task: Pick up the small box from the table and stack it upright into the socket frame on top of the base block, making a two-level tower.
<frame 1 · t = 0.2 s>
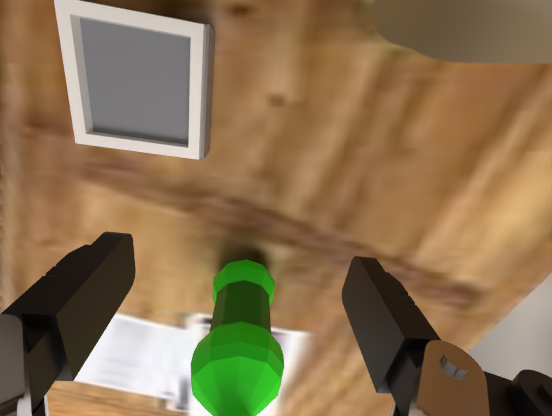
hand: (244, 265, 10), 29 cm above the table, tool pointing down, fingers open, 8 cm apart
base block: (154, 87, 33), on the table
plastic bottle: (244, 272, 45), on the table
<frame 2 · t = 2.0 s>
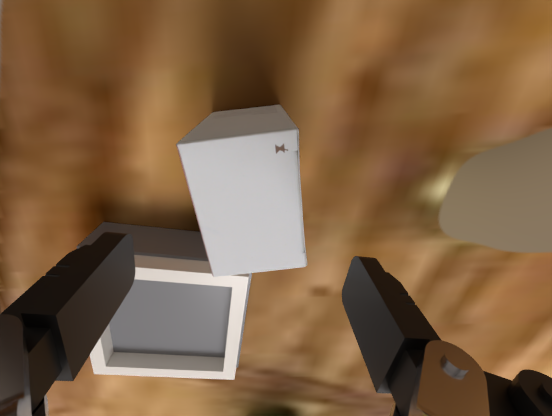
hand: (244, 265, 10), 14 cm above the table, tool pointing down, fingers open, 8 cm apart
small box: (253, 156, 23), on the table
base block: (181, 286, 28), on the table
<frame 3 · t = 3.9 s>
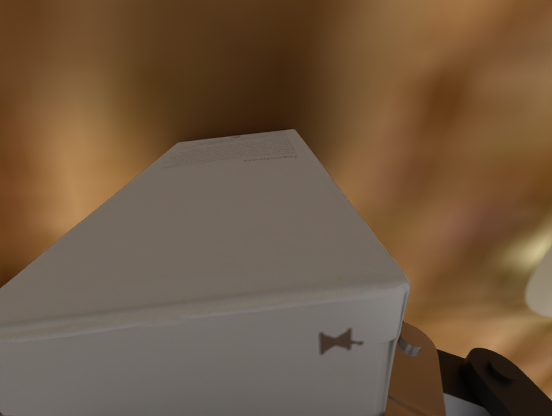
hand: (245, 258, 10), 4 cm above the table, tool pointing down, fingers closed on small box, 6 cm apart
small box: (249, 208, 14), on the table, touching gripper
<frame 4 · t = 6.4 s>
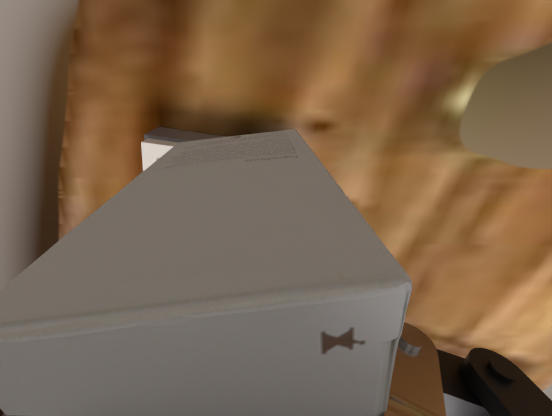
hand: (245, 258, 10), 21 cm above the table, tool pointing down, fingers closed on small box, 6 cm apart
small box: (250, 208, 14), point 16 cm above the table, touching gripper
base block: (223, 196, 31), on the table
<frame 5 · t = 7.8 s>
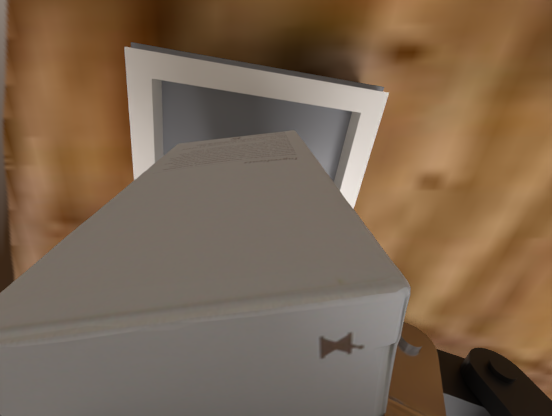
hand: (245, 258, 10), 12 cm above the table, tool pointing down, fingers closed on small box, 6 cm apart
small box: (249, 209, 14), point 8 cm above the table, touching gripper
base block: (251, 167, 21), on the table
when the fingers open (9 cm above the table, at t = 8.9 s): small box stays where it is, resting on base block.
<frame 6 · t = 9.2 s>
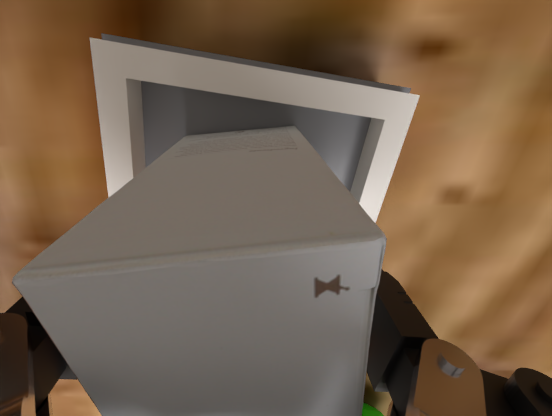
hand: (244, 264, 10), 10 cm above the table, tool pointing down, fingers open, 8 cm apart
small box: (250, 200, 15), point 4 cm above the table, touching base block
base block: (251, 179, 18), on the table
plastic bottle: (343, 409, 31), on the table
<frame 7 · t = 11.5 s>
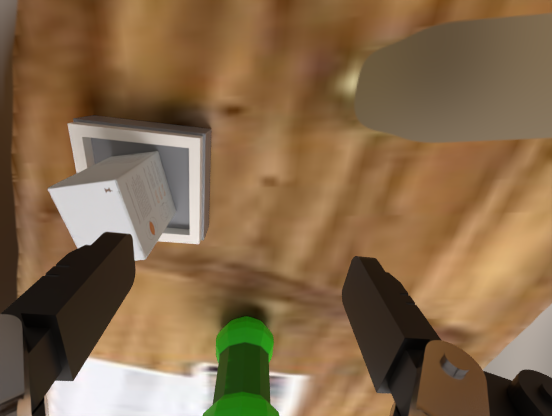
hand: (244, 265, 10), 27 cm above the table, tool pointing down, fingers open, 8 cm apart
small box: (146, 184, 32), point 4 cm above the table, touching base block
base block: (157, 176, 36), on the table
plastic bottle: (245, 326, 48), on the table
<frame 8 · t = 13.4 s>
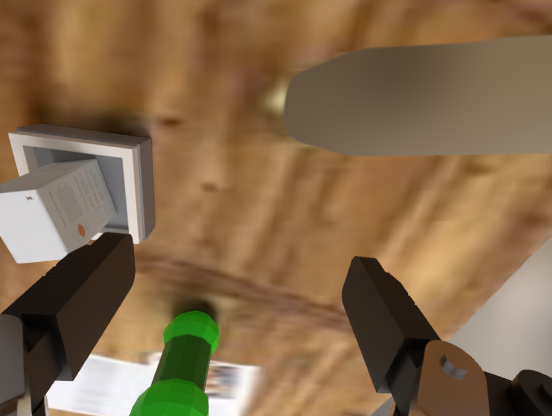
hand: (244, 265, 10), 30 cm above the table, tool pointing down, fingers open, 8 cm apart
small box: (88, 188, 35), point 4 cm above the table, touching base block
base block: (103, 179, 39), on the table
plastic bottle: (196, 319, 52), on the table
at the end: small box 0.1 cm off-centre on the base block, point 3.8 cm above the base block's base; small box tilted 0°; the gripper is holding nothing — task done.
